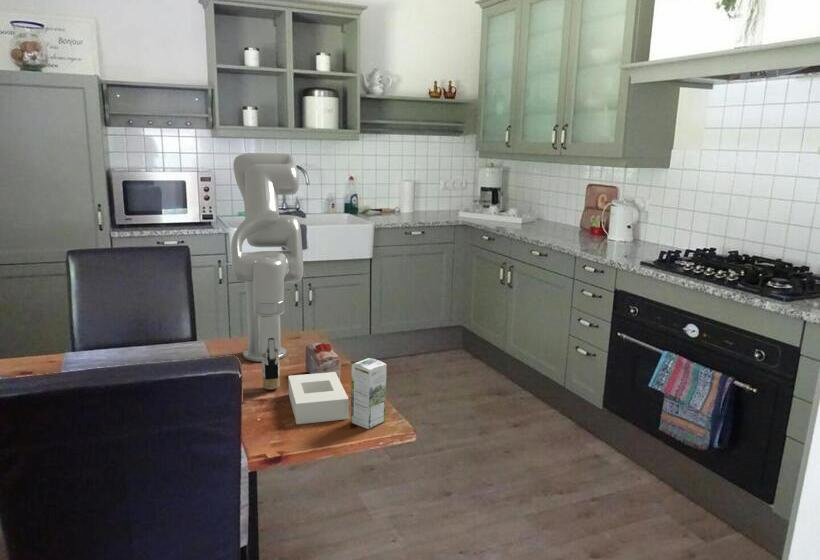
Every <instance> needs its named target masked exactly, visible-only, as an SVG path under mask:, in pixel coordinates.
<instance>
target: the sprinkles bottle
mask: <svg viewBox="0 0 820 560" xmlns="http://www.w3.org/2000/svg"><path fill="white" fill-rule="evenodd" d="M268 344H269V340H268ZM267 352H269V350H267ZM274 352H275V350H274ZM268 357H269V355H268ZM277 363H278V378H277V379H268V380H266V379H265V364H266V354H265V353H263V354H262V362H261V368H262V369H261V370H262V372H261V373H262V387H263V388H264V389H266V390H276V389H278V388H279V387H280V386H281V380H280V379H281V378H280V371H281V369H280V359H279V353H277Z"/></svg>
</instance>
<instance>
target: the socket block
mask: <svg viewBox="0 0 820 560" xmlns="http://www.w3.org/2000/svg"><path fill="white" fill-rule="evenodd" d="M287 382H288V396H289V400H290V405H291V408H292V412H293V415H294V420H295V424H296V425H304V424H312V423H313V424H315V423H321V422H322V423H323V422H331V421H340V420H341V421H342V420H349V419H350V417H349V416H350V414H349V411H350V409H349V407H350V406H349V405H350V403H349V402H350V398H349V397H348V394H347V393H346V391H345V388H344V387H343V384H342V382H341V379H340V380H339V378H338V376H337V374H336V372H328V373H316V374H310V373H309V374H307V373H306V374H296V375H295V374H294V375H288V381H287Z"/></svg>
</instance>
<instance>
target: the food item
mask: <svg viewBox="0 0 820 560" xmlns="http://www.w3.org/2000/svg"><path fill="white" fill-rule="evenodd" d="M304 362H305V370H306V372H307V373H309V374H316V373H328V372H336V374H337V376H338V378H339V380H340V381H341V371H342V365H341V362H342V361H341V356H339V355H338V354H337V353H336V352H335V351H334V348H333V347H332V346H331V344H329V343H324V342H314V343H311V344H307V345H306V346H305V361H304Z"/></svg>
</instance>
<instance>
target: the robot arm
mask: <svg viewBox="0 0 820 560" xmlns="http://www.w3.org/2000/svg"><path fill="white" fill-rule="evenodd" d="M233 174H234V178H235V181H236V185H237V188H238V189H239V192H240V193H241V196H242V199H243V205H244V206H243V207H244V220H243V221H241V223H240V224H239V226H237V227H236V230H235V232H234V233H233V236H232V240H231V245H230V252H231V253H230V256H231V270H232V271H231V272H232V275H233V278H234V279H235V280H237V281H239V282H243V283H244V284H245V285H244V286H245V294H246V298H245V299H246V319H247V320H246V323H247V345H248V346H247V347H248V348H246V349H245V350H244V351H243V352H242V353H243V354H242V356H243V358H244V359H245V360H248V361H251V362H260V363H262V354H263V353H265V354H266V364H265V379H266V380H268V379H277V378H278V363H277V353H279V360H280V359H282V358H284V357H285V356H286V355H287V350H286V348H284V347H282V346H281V345H282V344H281V343H282V342H281V315H283V314H284V313H285V284H293V283H299V282H300V281H302V279H303V276H304V256H303V255H304V254H303V241H302V240H303V239H302V229H301V224H300V222H299V221H300V220H299V219H298V218H297V217H296V216H295V215H290V214H280V208H279V195H284V196H286V195H288V196H289V195H292V196H293V195H296V194H297V192H298V191H299V187H300V176H299V170H298V167H297V163H296V161H295V159H294V156H292V155H291V154H289V153H288V154H287V153H266V152H265V153H263V152H261V153H260V152H252V153H251V152H247V153H241V154H239V155H237V156H235V157H234V159H233ZM245 240H246V241H247V243H248V245H250V246H251V247H252V248H253V247H255V248H284V249H285V250H264V251H263V250H261V251H252V252H250V251H248V252H243V243H244V242H245ZM268 340H269V344H268ZM267 350H269V352H267ZM274 350H275V352H274ZM268 355H269V357H268Z"/></svg>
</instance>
